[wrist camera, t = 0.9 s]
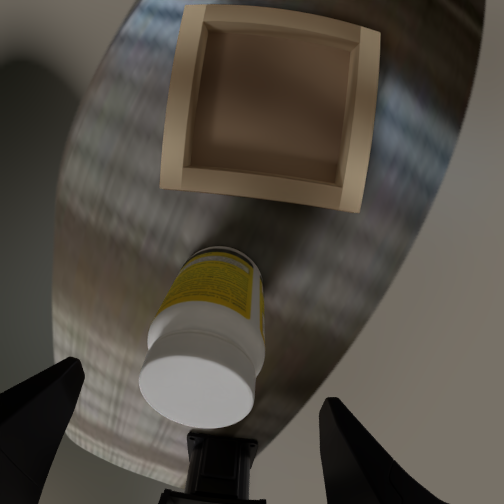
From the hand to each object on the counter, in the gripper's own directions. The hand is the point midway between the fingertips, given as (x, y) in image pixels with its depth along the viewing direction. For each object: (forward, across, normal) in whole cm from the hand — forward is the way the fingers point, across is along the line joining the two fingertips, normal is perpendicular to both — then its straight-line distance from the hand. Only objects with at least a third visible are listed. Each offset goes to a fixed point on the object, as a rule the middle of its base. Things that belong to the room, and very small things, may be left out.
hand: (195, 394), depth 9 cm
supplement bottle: (+8, 0, 0) cm, 8 cm away
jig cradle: (+8, -2, -10) cm, 13 cm away
